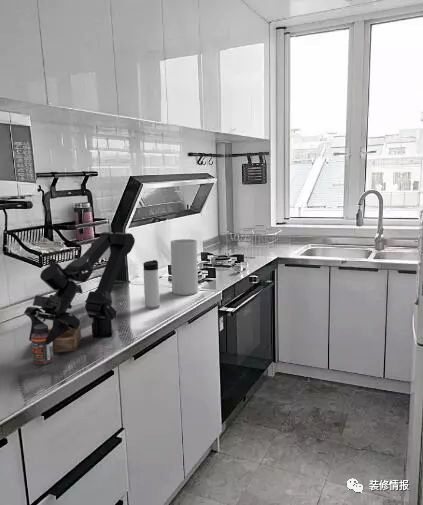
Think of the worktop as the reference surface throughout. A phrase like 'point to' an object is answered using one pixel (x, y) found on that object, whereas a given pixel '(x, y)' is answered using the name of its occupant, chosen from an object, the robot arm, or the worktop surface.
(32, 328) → the robot arm
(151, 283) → the travel mug
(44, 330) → the supplement bottle
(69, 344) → the box
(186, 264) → the cylinder vase
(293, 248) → the worktop surface
